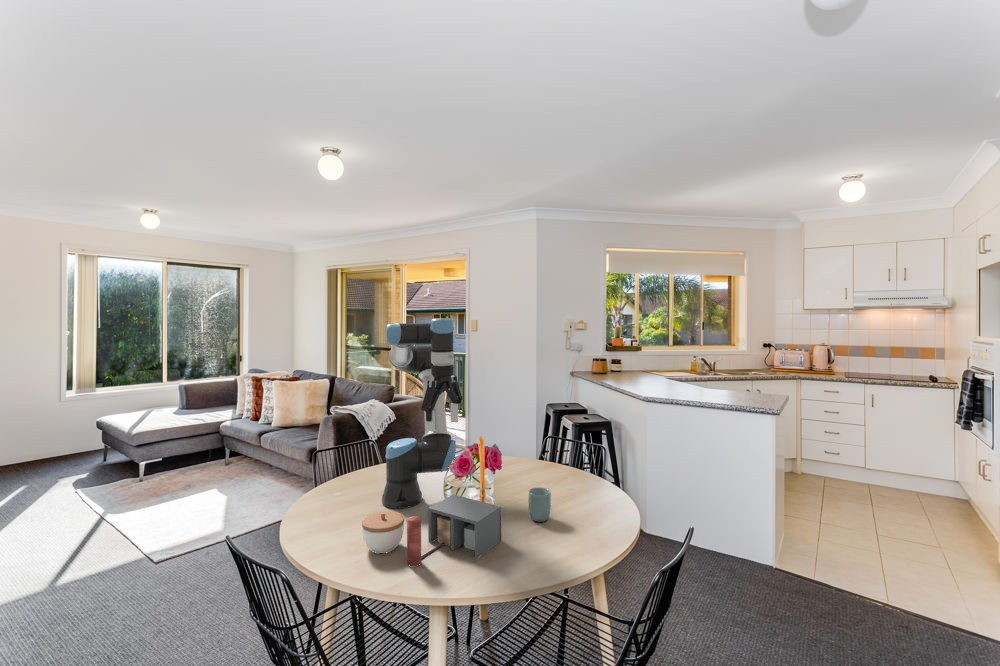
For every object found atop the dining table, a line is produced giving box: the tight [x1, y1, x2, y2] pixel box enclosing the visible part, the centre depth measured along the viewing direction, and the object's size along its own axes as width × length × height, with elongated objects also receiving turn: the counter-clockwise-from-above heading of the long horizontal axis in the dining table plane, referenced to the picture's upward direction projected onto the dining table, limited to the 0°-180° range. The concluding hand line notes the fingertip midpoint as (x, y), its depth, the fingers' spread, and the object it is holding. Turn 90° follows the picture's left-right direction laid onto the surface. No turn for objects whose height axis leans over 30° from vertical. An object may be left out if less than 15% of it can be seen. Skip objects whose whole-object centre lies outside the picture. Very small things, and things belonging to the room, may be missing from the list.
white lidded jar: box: [361, 510, 405, 554], centre depth 149 cm, size 13×13×11 cm
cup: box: [528, 487, 552, 523], centre depth 169 cm, size 8×8×10 cm
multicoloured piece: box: [406, 515, 451, 567], centre depth 147 cm, size 5×20×13 cm, turn 148°
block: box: [463, 524, 475, 551], centre depth 150 cm, size 5×5×6 cm
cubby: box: [427, 494, 502, 559], centre depth 153 cm, size 19×13×11 cm
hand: (442, 426), depth 164 cm, fingers open, 13 cm apart
